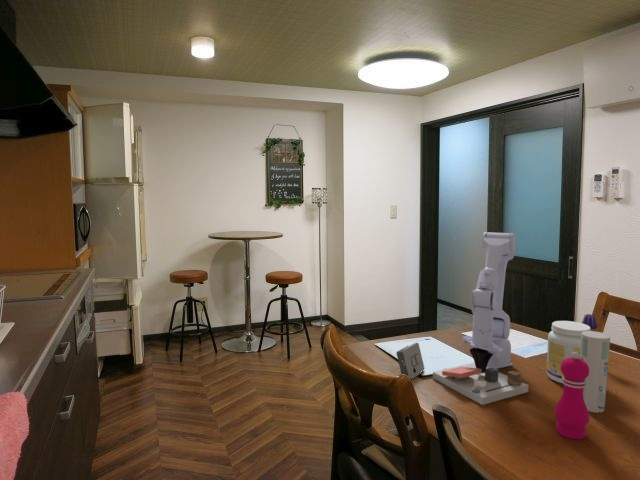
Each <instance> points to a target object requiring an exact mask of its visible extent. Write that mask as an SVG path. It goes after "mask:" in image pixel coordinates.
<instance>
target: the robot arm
mask: <svg viewBox="0 0 640 480" xmlns="http://www.w3.org/2000/svg"><path fill="white" fill-rule="evenodd" d="M516 244H517V237H516V234H515V233H514V232H511V233H510V232H492V231H491V232H488V231H485V232H483V234H482V238H481V248H482V250H483V253H484V256H485V263H484V264H485V266H484V269H481V270H480V272H479V273H478V274H479V275H478V279H477V283H476V287H475V289H472V292H471V295H470V296H471V297H470V302H471V303H470V304H471V313H472V336H468V335H464V336H462V337H461V343H462V344H467V345H469V346H470V347H471V348H470V349H469V353H470V355H471V356H472V358H473V361H474V362H473V363H475V366H476V368H478V369H481V370H482V373H485V369H486V367H488V368H494V369H497V370H499V369H502V368H506V367H511V366H513V363H512V362H511V355H512V353H511V352H512V344H511V342H510V339H509V338H510V337H509V336H510V333H511V324H510V323H511V318H510V316H509V314H507V313H506V312H505V311H504V310H503V303H504V302H503V301H504V300H503V299H504V291H505V281H506V271H507V265H508V262H509V261H511V260H513V259H514V256H515V253H516ZM480 374H481V373H480Z"/></svg>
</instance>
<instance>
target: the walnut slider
mask: <svg viewBox="0 0 640 480" xmlns="http://www.w3.org/2000/svg"><path fill="white" fill-rule="evenodd" d="M506 376H507V383H509V384H511V385H513V386H518V385H521V382H522V373H520V372H518V371H515V370H510V371H507V375H506Z"/></svg>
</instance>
